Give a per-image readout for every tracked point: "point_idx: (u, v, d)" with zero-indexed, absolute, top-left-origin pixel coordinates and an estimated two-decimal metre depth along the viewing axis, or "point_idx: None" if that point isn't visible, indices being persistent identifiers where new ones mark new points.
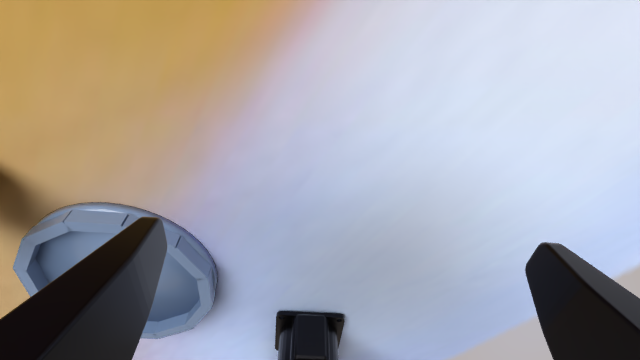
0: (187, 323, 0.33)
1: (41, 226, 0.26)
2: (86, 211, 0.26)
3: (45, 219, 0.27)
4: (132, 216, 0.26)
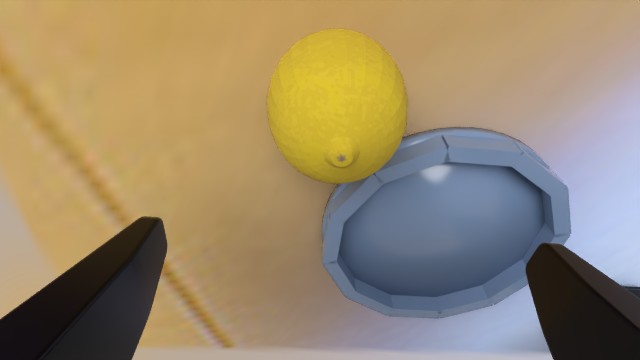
0: (492, 297, 0.26)
1: (396, 157, 0.20)
2: (459, 137, 0.20)
3: None
4: (517, 144, 0.20)
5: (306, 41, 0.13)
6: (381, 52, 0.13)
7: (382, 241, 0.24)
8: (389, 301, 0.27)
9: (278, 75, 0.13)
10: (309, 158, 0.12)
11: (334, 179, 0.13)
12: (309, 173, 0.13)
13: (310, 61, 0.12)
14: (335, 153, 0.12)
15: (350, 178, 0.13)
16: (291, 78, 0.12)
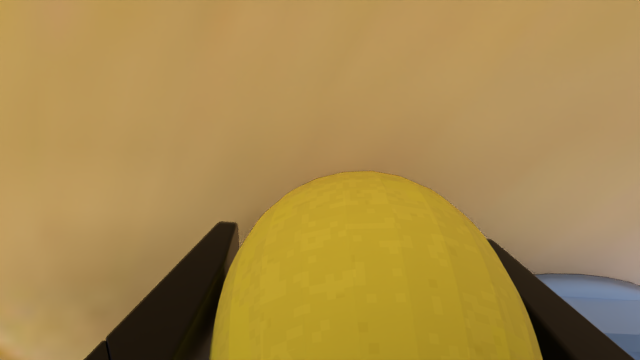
0: None
1: None
2: (561, 297, 0.12)
3: None
4: None
5: (298, 244, 0.05)
6: (491, 282, 0.05)
7: None
8: None
9: (227, 335, 0.05)
10: None
11: None
12: None
13: (307, 355, 0.04)
14: None
15: None
16: None
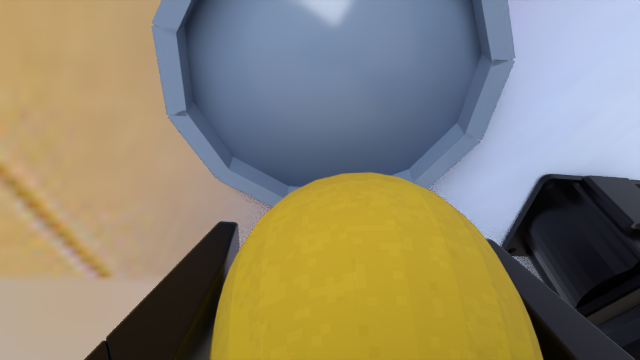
0: (419, 180, 0.19)
1: None
2: None
3: None
4: None
5: (298, 247, 0.05)
6: (492, 284, 0.05)
7: (256, 89, 0.17)
8: (284, 191, 0.20)
9: (227, 338, 0.05)
10: None
11: None
12: None
13: (308, 358, 0.04)
14: None
15: None
16: None
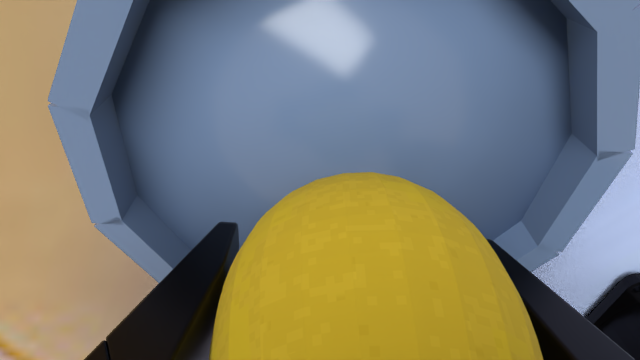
0: None
1: None
2: None
3: None
4: None
5: (298, 246, 0.05)
6: (492, 284, 0.05)
7: (228, 180, 0.12)
8: None
9: (227, 337, 0.05)
10: None
11: None
12: None
13: (308, 358, 0.04)
14: None
15: None
16: None
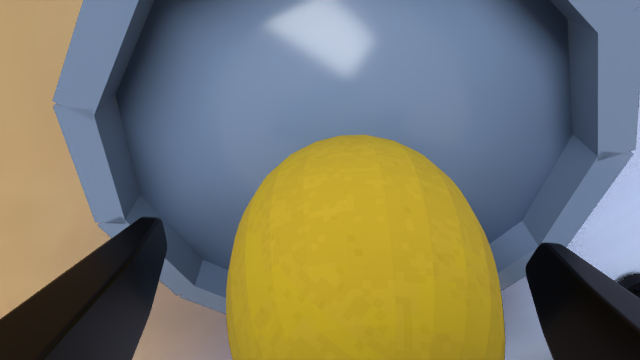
0: None
1: None
2: None
3: None
4: None
5: (301, 185, 0.07)
6: (456, 214, 0.06)
7: (231, 180, 0.12)
8: None
9: (243, 256, 0.06)
10: None
11: None
12: None
13: (308, 259, 0.05)
14: None
15: None
16: (266, 292, 0.06)
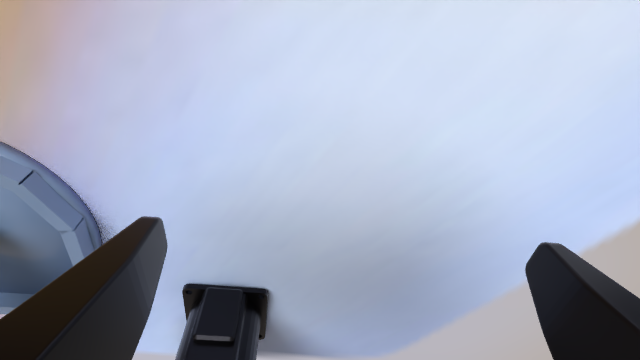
0: None
1: None
2: None
3: None
4: None
5: None
6: None
7: None
8: None
9: None
10: None
11: None
12: None
13: None
14: None
15: None
16: None
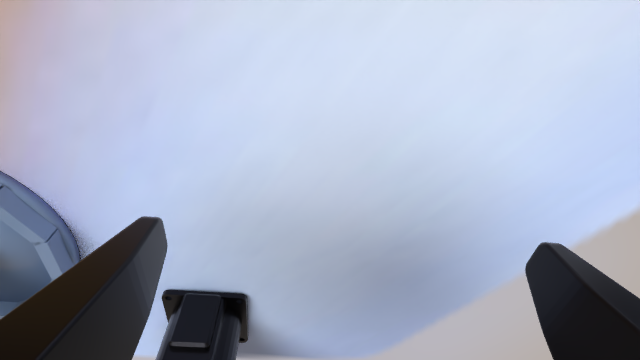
0: None
1: None
2: None
3: None
4: None
5: None
6: None
7: None
8: None
9: None
10: None
11: None
12: None
13: None
14: None
15: None
16: None
